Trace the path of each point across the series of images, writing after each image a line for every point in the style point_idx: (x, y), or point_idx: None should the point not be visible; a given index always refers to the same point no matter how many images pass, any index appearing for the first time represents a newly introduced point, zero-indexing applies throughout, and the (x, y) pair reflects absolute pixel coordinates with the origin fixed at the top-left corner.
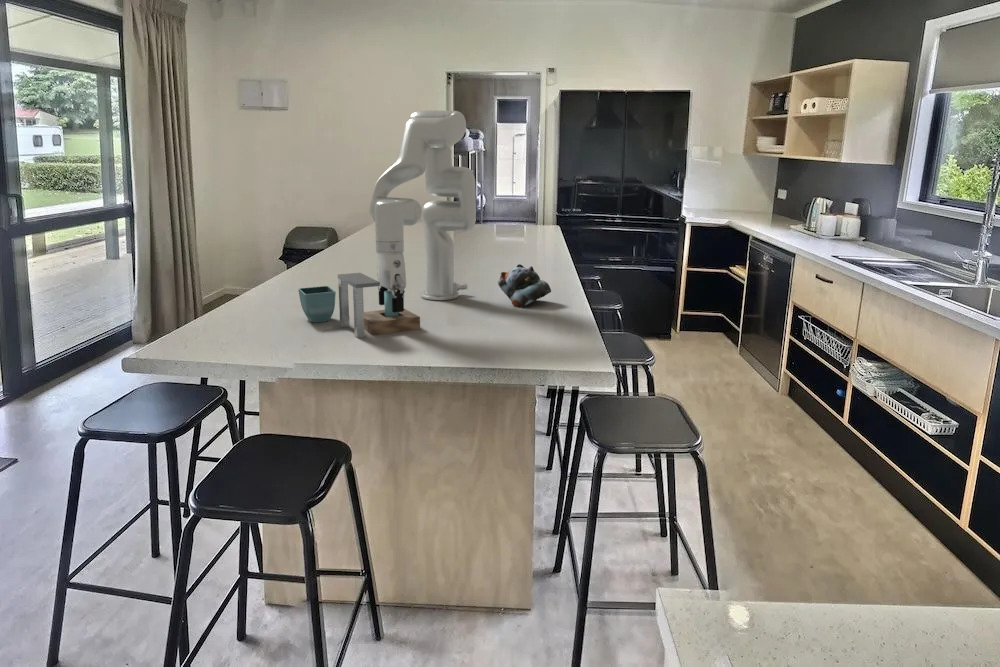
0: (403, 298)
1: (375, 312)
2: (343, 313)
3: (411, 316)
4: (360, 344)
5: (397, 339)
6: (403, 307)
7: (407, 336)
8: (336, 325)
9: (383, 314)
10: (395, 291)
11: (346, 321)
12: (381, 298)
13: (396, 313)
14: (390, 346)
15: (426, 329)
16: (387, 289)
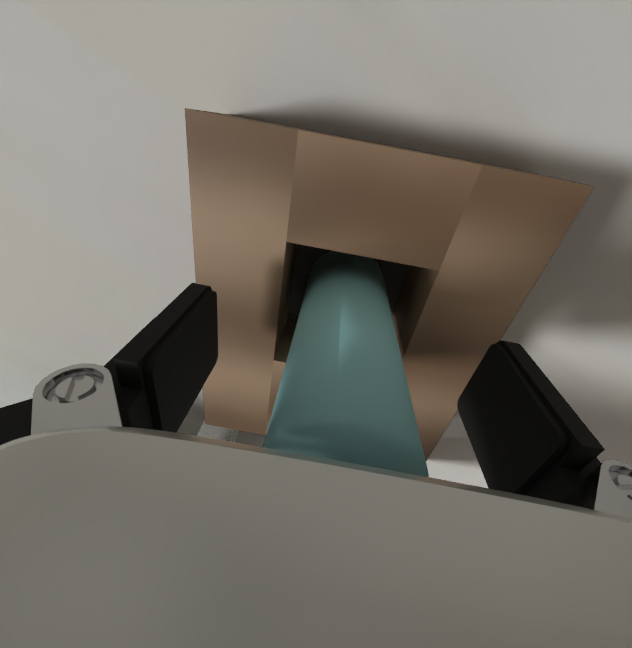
0: (593, 436)
1: (242, 361)
2: None
3: (514, 243)
4: (478, 481)
5: (558, 382)
6: (531, 362)
7: (569, 326)
8: (199, 425)
9: (278, 328)
10: (373, 446)
11: (234, 436)
12: (196, 387)
13: (390, 313)
14: (600, 443)
15: (582, 133)
16: (112, 386)
